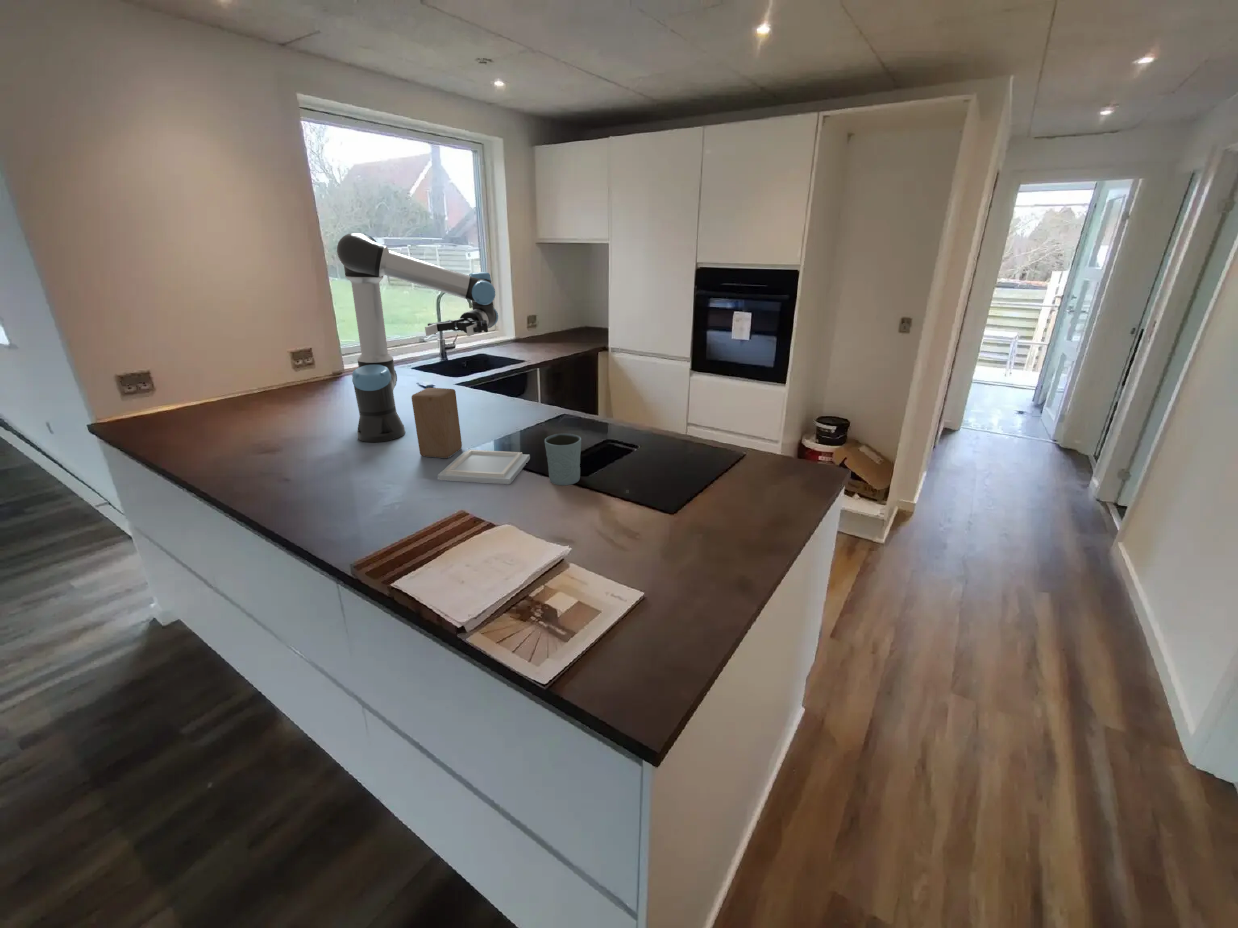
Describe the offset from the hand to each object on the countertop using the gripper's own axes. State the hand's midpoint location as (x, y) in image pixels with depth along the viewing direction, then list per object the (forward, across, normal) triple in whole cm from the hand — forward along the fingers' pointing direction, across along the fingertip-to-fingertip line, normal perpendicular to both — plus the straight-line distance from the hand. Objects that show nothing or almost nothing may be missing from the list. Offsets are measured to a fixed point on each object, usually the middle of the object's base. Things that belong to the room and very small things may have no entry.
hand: (447, 331), depth 168 cm
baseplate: (+22, -17, -36) cm, 46 cm away
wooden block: (+11, +2, -36) cm, 38 cm away
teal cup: (+25, -41, -37) cm, 61 cm away
